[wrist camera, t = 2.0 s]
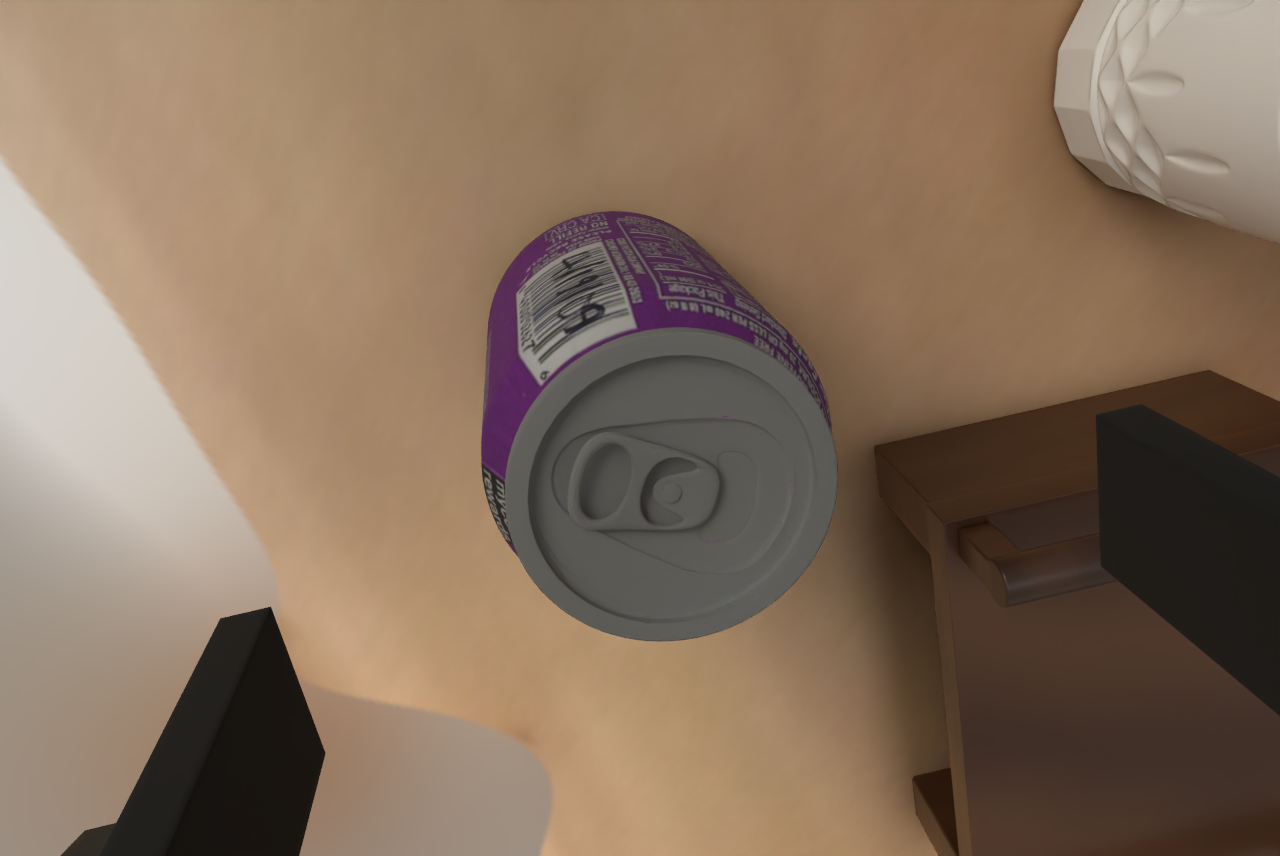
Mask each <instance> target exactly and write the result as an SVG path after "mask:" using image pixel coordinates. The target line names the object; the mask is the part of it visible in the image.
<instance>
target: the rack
mask: <svg viewBox="0 0 1280 856" xmlns="http://www.w3.org/2000/svg"><path fill="white" fill-rule="evenodd" d="M1139 404H1143V405H1144V406H1146V407H1148V408H1150V409H1152V410H1154V411H1156V412H1158V413H1160V414H1161V415H1163V416H1165V417H1167V418H1169V419H1171V420H1173V421H1175V422H1176V423H1178V424H1180V425H1182V426H1184V427H1186V428H1188V429H1190V430H1192V431H1193V432H1195V433H1197V434H1199V435H1201V436H1203V437H1205V438H1207V439H1209V440H1210V441H1212V442H1214V443H1216V444H1218V445H1220V446H1222V447H1224V448H1225V449H1227V450H1229V451H1231V452H1233V453H1235V454H1237V455H1239V456H1241V457H1242V458H1244V459H1246V460H1248V461H1250V462H1252V463H1254V464H1256V465H1258V466H1259V467H1261V468H1263V469H1265V470H1267V471H1269V472H1271V473H1273V474H1274V475H1276V476H1278V477H1280V401H1277V400H1275V399H1273V398H1271V397H1268V396H1266V395H1264V394H1262V393H1260V392H1257V391H1255V390H1253V389H1251V388H1248V387H1246V386H1244V385H1242V384H1239V383H1237V382H1235V381H1233V380H1230V379H1228V378H1226V377H1224V376H1221V375H1219V374H1217V373H1215V372H1212V371H1210V370H1208V371H1203V372H1199V373H1194V374H1190V375H1186V376H1181V377H1177V378H1172V379H1168V380H1164V381H1159V382H1155V383H1150V384H1146V385H1142V386H1137V387H1133V388H1128V389H1124V390H1120V391H1115V392H1111V393H1106V394H1102V395H1098V396H1093V397H1089V398H1084V399H1080V400H1076V401H1071V402H1067V403H1062V404H1058V405H1054V406H1049V407H1045V408H1040V409H1036V410H1032V411H1027V412H1023V413H1018V414H1014V415H1009V416H1005V417H1001V418H996V419H992V420H987V421H983V422H979V423H974V424H970V425H965V426H961V427H957V428H952V429H948V430H943V431H939V432H935V433H930V434H926V435H921V436H917V437H913V438H908V439H904V440H899V441H895V442H891V443H886V444H882V445H877V446H875V457H876V466H877V475H878V483H879V492H880V497H881V498H882V499H883V500H884V501H885V502H886V504H887V505H888V506H889V507H890V508H891V509H892V511H893V512H894V513H895V514H896V515H897V516H898V518H899V519H900V520H901V521H902V522H903V523H904V525H905V526H906V527H907V528H908V529H909V531H910V532H911V533H912V534H913V535H914V536H915V538H916V539H917V540H918V541H919V542H920V543H921V545H922V546H923V547H924V548H925V549H926V550H927V552H928V553H929V554H930V555H931V565H932V575H933V586H934V596H935V607H936V618H937V628H938V639H939V649H940V660H941V670H942V681H943V691H944V702H945V712H946V723H947V733H948V744H949V754H950V765H951V768H947V769H943V770H939V771H935V772H931V773H927V774H923V775H919V776H914V777H913V778H912V781H913V790H914V799H915V808H916V815H917V817H918V819H919V821H920V822H921V824H922V826H923V828H924V830H925V832H926V833H927V835H928V837H929V839H930V841H931V843H932V844H933V846H934V848H935V850H936V852H937V854H938V856H1280V716H1279V715H1278V714H1277V713H1275V712H1274V711H1273V710H1272V709H1271V708H1269V707H1268V706H1267V705H1266V704H1265V703H1264V702H1262V701H1261V700H1260V699H1259V698H1258V697H1256V696H1255V695H1254V694H1253V693H1252V692H1250V691H1249V690H1248V689H1247V688H1246V687H1244V686H1243V685H1242V684H1241V683H1240V682H1238V681H1237V680H1236V679H1235V678H1234V677H1232V676H1231V675H1230V674H1229V673H1228V672H1227V671H1225V670H1224V669H1223V668H1222V667H1221V666H1219V665H1218V664H1217V663H1216V662H1215V661H1213V660H1212V659H1211V658H1210V657H1209V656H1207V655H1206V654H1205V653H1204V652H1203V651H1201V650H1200V649H1199V648H1198V647H1197V646H1195V645H1194V644H1193V643H1192V642H1191V641H1189V640H1188V639H1187V638H1186V637H1185V636H1184V635H1182V634H1181V633H1180V632H1179V631H1178V630H1176V629H1175V628H1174V627H1173V626H1172V625H1170V624H1169V623H1168V622H1167V621H1166V620H1164V619H1163V618H1162V617H1161V616H1160V615H1158V614H1157V613H1156V612H1155V611H1154V610H1152V609H1151V608H1150V607H1149V606H1148V605H1147V604H1145V603H1144V602H1143V601H1142V600H1141V599H1139V598H1138V597H1137V596H1136V595H1135V594H1133V593H1132V592H1131V591H1130V590H1129V589H1127V588H1126V587H1125V586H1124V585H1123V584H1121V583H1120V582H1119V581H1118V580H1117V579H1115V578H1114V577H1113V576H1112V575H1111V574H1110V573H1108V572H1107V571H1106V570H1105V569H1104V568H1102V567H1101V559H1100V529H1099V499H1098V470H1097V440H1096V414H1101V413H1105V412H1109V411H1114V410H1118V409H1122V408H1127V407H1131V406H1135V405H1139Z"/></svg>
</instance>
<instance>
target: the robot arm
mask: <svg viewBox="0 0 1280 856" xmlns="http://www.w3.org/2000/svg"><path fill="white" fill-rule="evenodd" d="M1096 440H1097V470H1098V499H1099V529H1100V559H1101V567H1102V568H1104V569H1105V570H1106V571H1107V572H1108V573H1110V574H1111V575H1112V576H1113V577H1114V578H1115V579H1117V580H1118V581H1119V582H1120V583H1121V584H1123V585H1124V586H1125V587H1126V588H1127V589H1129V590H1130V591H1131V592H1132V593H1133V594H1135V595H1136V596H1137V597H1138V598H1139V599H1141V600H1142V601H1143V602H1144V603H1145V604H1147V605H1148V606H1149V607H1150V608H1151V609H1152V610H1154V611H1155V612H1156V613H1157V614H1158V615H1160V616H1161V617H1162V618H1163V619H1164V620H1166V621H1167V622H1168V623H1169V624H1170V625H1172V626H1173V627H1174V628H1175V629H1176V630H1178V631H1179V632H1180V633H1181V634H1182V635H1184V636H1185V637H1186V638H1187V639H1188V640H1189V641H1191V642H1192V643H1193V644H1194V645H1195V646H1197V647H1198V648H1199V649H1200V650H1201V651H1203V652H1204V653H1205V654H1206V655H1207V656H1209V657H1210V658H1211V659H1212V660H1213V661H1215V662H1216V663H1217V664H1218V665H1219V666H1221V667H1222V668H1223V669H1224V670H1225V671H1227V672H1228V673H1229V674H1230V675H1231V676H1232V677H1234V678H1235V679H1236V680H1237V681H1238V682H1240V683H1241V684H1242V685H1243V686H1244V687H1246V688H1247V689H1248V690H1249V691H1250V692H1252V693H1253V694H1254V695H1255V696H1256V697H1258V698H1259V699H1260V700H1261V701H1262V702H1264V703H1265V704H1266V705H1267V706H1268V707H1269V708H1271V709H1272V710H1273V711H1274V712H1275V713H1277V714H1278V715H1279V716H1280V477H1278V476H1276V475H1274V474H1273V473H1271V472H1269V471H1267V470H1265V469H1263V468H1261V467H1259V466H1258V465H1256V464H1254V463H1252V462H1250V461H1248V460H1246V459H1244V458H1242V457H1241V456H1239V455H1237V454H1235V453H1233V452H1231V451H1229V450H1227V449H1225V448H1224V447H1222V446H1220V445H1218V444H1216V443H1214V442H1212V441H1210V440H1209V439H1207V438H1205V437H1203V436H1201V435H1199V434H1197V433H1195V432H1193V431H1192V430H1190V429H1188V428H1186V427H1184V426H1182V425H1180V424H1178V423H1176V422H1175V421H1173V420H1171V419H1169V418H1167V417H1165V416H1163V415H1161V414H1160V413H1158V412H1156V411H1154V410H1152V409H1150V408H1148V407H1146V406H1144V405H1143V404H1139V405H1135V406H1131V407H1127V408H1122V409H1118V410H1114V411H1109V412H1105V413H1101V414H1096ZM324 757H325V751H324V748H323V745H322V743H321V740H320V737H319V735H318V732H317V729H316V727H315V724H314V722H313V719H312V716H311V713H310V711H309V708H308V705H307V703H306V700H305V697H304V695H303V692H302V689H301V686H300V684H299V681H298V678H297V676H296V673H295V670H294V668H293V665H292V662H291V660H290V657H289V654H288V652H287V649H286V646H285V644H284V641H283V638H282V635H281V633H280V630H279V627H278V625H277V622H276V619H275V617H274V614H273V611H272V609H271V607H268V608H264V609H259V610H255V611H251V612H247V613H242V614H238V615H234V616H230V617H225V618H221V619H220V620H219V622H218V624H217V626H216V628H215V630H214V632H213V634H212V636H211V638H210V640H209V642H208V644H207V646H206V648H205V650H204V652H203V654H202V656H201V658H200V660H199V662H198V664H197V666H196V667H195V669H194V672H193V673H192V676H191V677H190V679H189V681H188V683H187V685H186V687H185V689H184V691H183V693H182V695H181V697H180V699H179V701H178V703H177V705H176V707H175V709H174V711H173V713H172V715H171V717H170V719H169V721H168V722H167V725H166V727H165V729H164V730H163V733H162V734H161V736H160V738H159V740H158V742H157V744H156V746H155V748H154V750H153V752H152V754H151V756H150V758H149V760H148V762H147V764H146V766H145V768H144V770H143V772H142V774H141V776H140V778H139V780H138V782H137V784H136V786H135V787H134V789H133V791H132V793H131V795H130V797H129V799H128V801H127V803H126V805H125V807H124V809H123V811H122V813H121V815H120V817H119V819H118V821H117V823H114V824H111V825H106V826H102V827H98V828H94V829H90V830H85V831H84V832H83V833H82V834H81V835H80V836H79V837H78V838H77V839H76V840H75V841H74V843H72V844H71V846H69V848H68V849H67V850H66V851H65V852H64V853H63V854H62V855H61V856H299V854H300V850H301V846H302V842H303V839H304V835H305V831H306V826H307V823H308V819H309V815H310V811H311V807H312V803H313V800H314V796H315V792H316V788H317V784H318V780H319V776H320V772H321V768H322V765H323V761H324Z"/></svg>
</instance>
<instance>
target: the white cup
mask: <svg viewBox="0 0 1280 856" xmlns="http://www.w3.org/2000/svg"><path fill="white" fill-rule="evenodd" d="M1054 109H1055V111H1056V114H1057V117H1058V120H1059V123H1060V125H1061V128H1062V131H1063V134H1064V137H1065V139H1066V142H1067V145H1068V148H1069V151H1070V153H1071V154H1072V155H1073V156H1074V157H1075V158H1076V159H1077V160H1078V161H1080V162H1081V163H1082V164H1083V165H1084V166H1085V167H1086V168H1088V169H1089V170H1090V171H1091V172H1092V173H1093V174H1094V175H1096V176H1097V177H1098V178H1099V179H1100V180H1101V181H1102V182H1104V183H1105V184H1106V185H1109V186H1112V187H1115V188H1119V189H1122V190H1126V191H1129V192H1133V193H1136V194H1140V195H1144V196H1147V197H1150V198H1152V199H1154V200H1155V201H1157V202H1159V203H1161V204H1163V205H1166V206H1168V207H1170V208H1172V209H1174V210H1177V211H1180V212H1183V213H1186V214H1189V215H1191V216H1195V217H1198V218H1201V219H1204V220H1207V221H1209V222H1212V223H1215V224H1218V225H1220V226H1223V227H1226V228H1229V229H1231V230H1234V231H1237V232H1241V233H1244V234H1247V235H1250V236H1254V237H1257V238H1260V239H1264V240H1267V241H1270V242H1273V243H1277V244H1280V0H1083V2H1082V4H1081V6H1080V8H1079V10H1078V12H1077V14H1076V16H1075V18H1074V20H1073V22H1072V24H1071V26H1070V28H1069V30H1068V32H1067V34H1066V36H1065V38H1064V40H1063V42H1062V44H1061V46H1060V48H1059V51H1058V61H1057V72H1056V83H1055V94H1054Z"/></svg>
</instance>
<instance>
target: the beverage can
mask: <svg viewBox="0 0 1280 856" xmlns="http://www.w3.org/2000/svg"><path fill="white" fill-rule="evenodd" d="M481 456H482V475H483V482H484V487H485V492H486V496H487V500H488V503H489V507H490V509H491V512H492V515H493V517H494V519H495V522H496V524H497V526H498V528H499V530H500V532H501V533H502V535H503V537H504V538H505V540H506V542H507V543H508V544H509V546H510V547H511V549H512V550H513V551H514V552H515V554H516V555H517V556H518V557H519V559H520V561H521V563H522V564H523V566H524V568H525V570H526V571H527V573H528V574H529V576H530V577H531V579H532V580H533V581H534V583H535V584H536V585H537V586H538V587H539V589H540V590H541V591H542V592H543V593H544V594H545V595H546V596H547V597H548V598H549V599H550V600H551V601H552V602H553V603H554V604H556V605H557V606H558V607H559V608H561V609H562V610H563V611H565V612H566V613H567V614H569V615H571V616H572V617H574V618H575V619H577V620H579V621H581V622H583V623H585V624H586V625H588V626H591V627H593V628H595V629H598V630H600V631H603V632H606V633H609V634H612V635H616V636H620V637H624V638H629V639H635V640H644V641H677V640H686V639H692V638H698V637H702V636H706V635H710V634H713V633H716V632H719V631H722V630H725V629H728V628H730V627H733V626H735V625H737V624H739V623H741V622H743V621H745V620H747V619H749V618H751V617H752V616H754V615H756V614H757V613H759V612H761V611H762V610H764V609H765V608H767V607H768V606H769V605H771V604H772V603H773V602H775V601H776V600H777V599H778V598H779V597H781V596H782V595H783V594H784V593H785V592H786V591H787V590H788V589H789V588H790V587H791V586H792V585H793V584H794V583H795V582H796V581H797V580H798V578H799V577H800V576H801V575H802V574H803V572H804V571H805V570H806V569H807V567H808V566H809V564H810V563H811V561H812V560H813V558H814V557H815V555H816V553H817V552H818V550H819V548H820V546H821V544H822V542H823V540H824V538H825V536H826V533H827V531H828V528H829V525H830V522H831V519H832V515H833V512H834V507H835V502H836V496H837V487H838V467H837V457H836V451H835V446H834V442H833V438H832V424H831V417H830V411H829V406H828V402H827V398H826V395H825V392H824V389H823V386H822V384H821V382H820V379H819V377H818V375H817V373H816V371H815V369H814V367H813V365H812V363H811V362H810V360H809V359H808V357H807V355H806V354H805V352H804V351H803V349H802V348H801V347H800V345H799V344H798V343H797V341H796V340H795V339H794V338H793V337H792V336H791V335H790V334H789V332H788V331H787V330H786V329H785V328H784V327H783V326H782V325H781V324H780V323H779V322H778V321H777V320H776V319H775V318H774V317H772V316H771V315H770V314H769V313H768V312H767V311H766V310H765V309H764V308H763V307H762V306H761V305H760V304H759V303H758V302H757V301H756V300H755V299H754V298H753V297H752V296H751V295H750V294H749V293H748V292H747V291H746V290H745V289H744V288H743V287H742V286H741V285H740V284H739V283H738V282H737V281H736V280H735V279H734V278H733V277H732V276H731V275H730V274H729V273H728V272H727V271H726V270H725V269H723V268H722V267H721V266H720V265H719V264H718V263H717V262H716V261H715V260H714V259H713V258H712V257H711V256H710V255H709V254H708V253H707V252H706V251H705V250H704V249H703V248H702V247H701V246H700V245H699V244H698V243H697V242H696V241H694V240H693V239H692V238H691V237H689V236H688V235H687V234H685V233H684V232H682V231H681V230H679V229H678V228H676V227H674V226H672V225H670V224H668V223H666V222H664V221H662V220H659V219H656V218H653V217H650V216H646V215H642V214H637V213H631V212H616V211H611V212H599V213H592V214H587V215H583V216H579V217H576V218H573V219H570V220H567V221H565V222H562V223H560V224H558V225H556V226H554V227H553V228H551V229H549V230H547V231H546V232H544V233H543V234H541V235H540V236H539V237H537V238H536V239H535V240H533V241H532V242H531V243H530V244H529V245H528V246H527V247H526V248H525V249H523V250H522V251H521V253H520V254H519V255H518V256H517V257H516V258H515V260H514V261H513V262H512V264H511V265H510V266H509V268H508V269H507V271H506V273H505V274H504V276H503V278H502V280H501V282H500V283H499V286H498V288H497V290H496V293H495V296H494V299H493V302H492V306H491V310H490V315H489V321H488V336H487V353H486V371H485V389H484V406H483V424H482V441H481Z"/></svg>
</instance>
